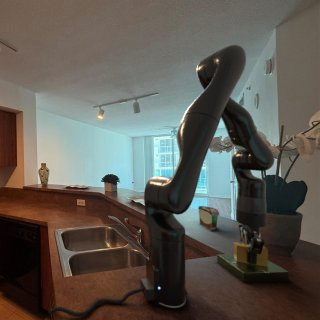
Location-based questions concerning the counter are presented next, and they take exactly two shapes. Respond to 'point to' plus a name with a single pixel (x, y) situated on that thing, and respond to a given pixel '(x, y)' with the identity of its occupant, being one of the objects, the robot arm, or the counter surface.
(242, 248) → the yellow rectangular block
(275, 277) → the holder base
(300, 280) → the counter surface
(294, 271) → the counter surface
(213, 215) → the food container
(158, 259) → the robot arm
